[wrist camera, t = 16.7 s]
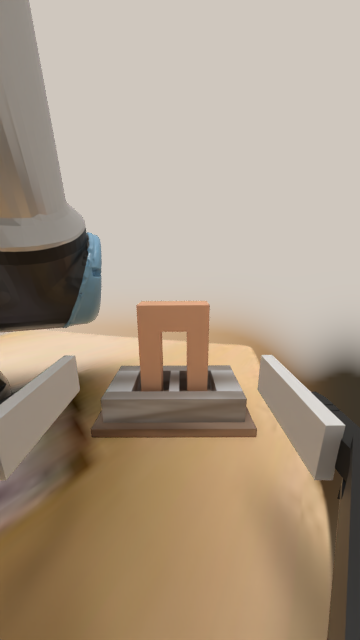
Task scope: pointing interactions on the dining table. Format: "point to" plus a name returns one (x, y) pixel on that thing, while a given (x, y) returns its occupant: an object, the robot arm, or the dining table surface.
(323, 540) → the dining table surface
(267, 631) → the dining table surface
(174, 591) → the dining table surface
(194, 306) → the tan arch block
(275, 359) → the robot arm
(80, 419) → the dining table surface
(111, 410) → the grey socket block
